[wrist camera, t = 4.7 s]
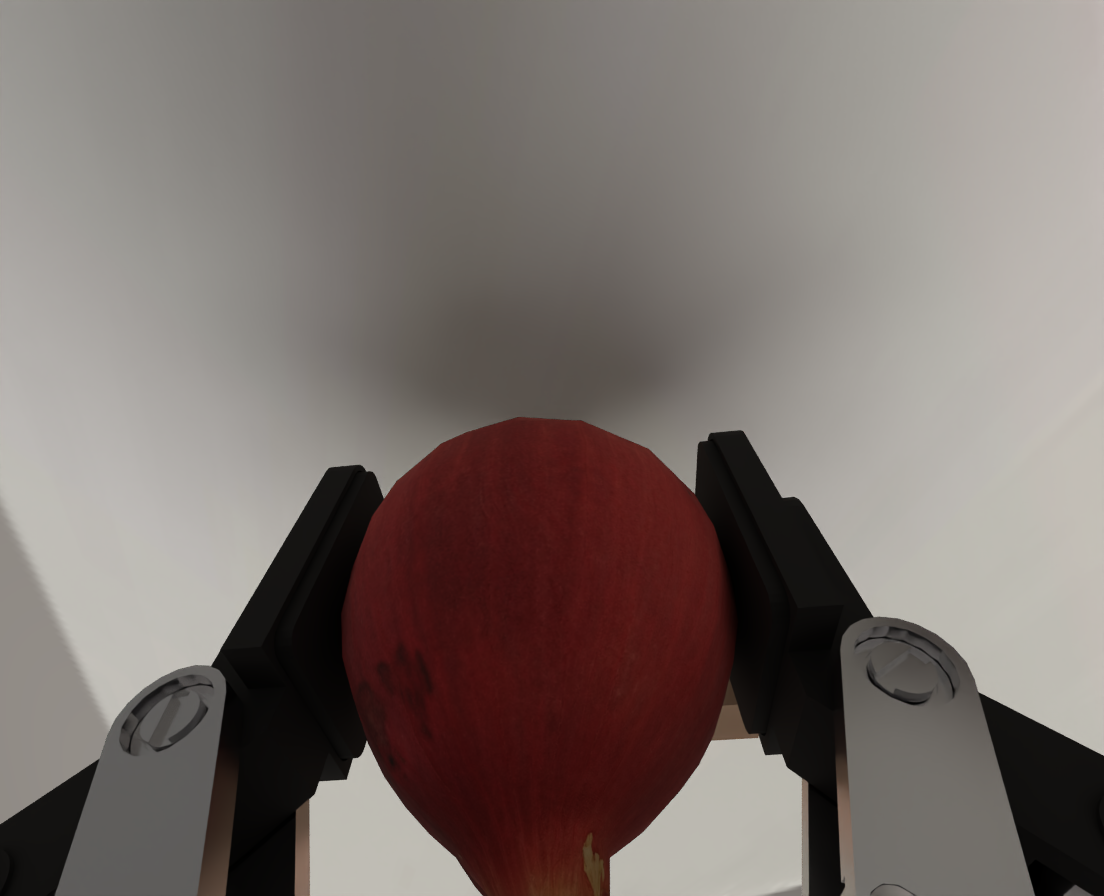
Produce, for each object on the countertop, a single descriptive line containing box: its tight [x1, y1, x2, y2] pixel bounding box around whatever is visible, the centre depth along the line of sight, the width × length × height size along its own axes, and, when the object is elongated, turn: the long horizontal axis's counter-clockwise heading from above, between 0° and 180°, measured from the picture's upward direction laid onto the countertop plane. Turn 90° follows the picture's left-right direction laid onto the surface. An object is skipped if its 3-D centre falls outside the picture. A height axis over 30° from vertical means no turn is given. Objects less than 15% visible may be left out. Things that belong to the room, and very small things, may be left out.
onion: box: [341, 417, 738, 896], centre depth 8 cm, size 6×6×8 cm
